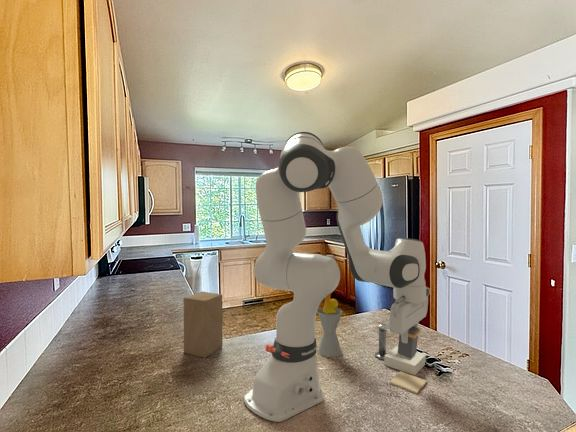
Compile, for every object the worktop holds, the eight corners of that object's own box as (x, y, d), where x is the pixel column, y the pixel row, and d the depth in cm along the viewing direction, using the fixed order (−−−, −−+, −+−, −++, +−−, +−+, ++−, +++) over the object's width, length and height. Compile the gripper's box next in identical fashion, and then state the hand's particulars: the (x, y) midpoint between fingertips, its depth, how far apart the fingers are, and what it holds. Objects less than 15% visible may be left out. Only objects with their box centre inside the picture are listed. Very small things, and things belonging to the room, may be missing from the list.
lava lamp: (325, 359, 106) (325, 257, 106) (312, 348, 114) (312, 254, 114) (347, 354, 110) (347, 256, 109) (333, 344, 118) (333, 253, 118)
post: (386, 361, 105) (386, 333, 104) (372, 356, 108) (372, 329, 108) (392, 356, 108) (392, 328, 108) (378, 352, 112) (378, 325, 111)
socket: (414, 375, 96) (415, 365, 96) (384, 364, 102) (384, 355, 102) (425, 363, 103) (425, 354, 103) (396, 354, 110) (396, 346, 110)
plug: (411, 360, 89) (414, 334, 88) (395, 353, 92) (398, 327, 91) (417, 353, 92) (420, 328, 91) (402, 346, 96) (404, 322, 94)
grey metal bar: (384, 330, 106) (384, 324, 106) (376, 328, 108) (376, 321, 108) (403, 319, 116) (403, 314, 116) (395, 317, 118) (395, 312, 118)
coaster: (417, 394, 86) (417, 392, 86) (389, 383, 91) (389, 381, 91) (426, 382, 92) (426, 380, 92) (400, 372, 97) (400, 371, 97)
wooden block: (223, 347, 116) (222, 293, 115) (205, 358, 107) (205, 300, 106) (201, 342, 120) (201, 291, 120) (183, 353, 111) (182, 297, 111)
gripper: (405, 303, 81) (405, 355, 82) (431, 287, 96) (431, 331, 97) (383, 298, 85) (383, 347, 86) (411, 284, 101) (411, 326, 101)
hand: (409, 339), depth 91 cm, fingers closed on plug, 4 cm apart
